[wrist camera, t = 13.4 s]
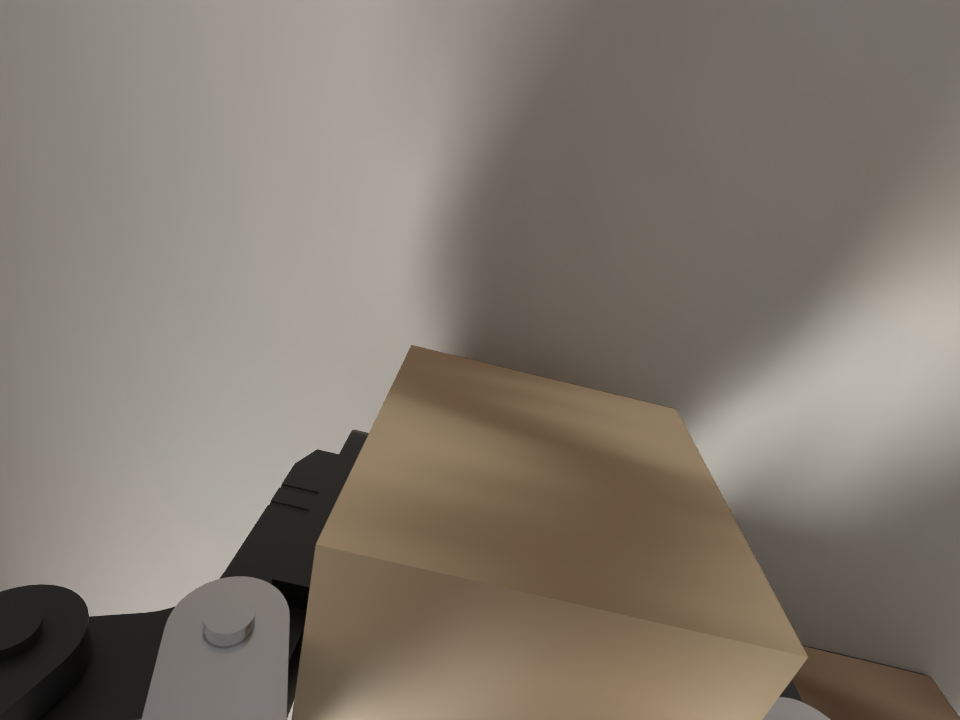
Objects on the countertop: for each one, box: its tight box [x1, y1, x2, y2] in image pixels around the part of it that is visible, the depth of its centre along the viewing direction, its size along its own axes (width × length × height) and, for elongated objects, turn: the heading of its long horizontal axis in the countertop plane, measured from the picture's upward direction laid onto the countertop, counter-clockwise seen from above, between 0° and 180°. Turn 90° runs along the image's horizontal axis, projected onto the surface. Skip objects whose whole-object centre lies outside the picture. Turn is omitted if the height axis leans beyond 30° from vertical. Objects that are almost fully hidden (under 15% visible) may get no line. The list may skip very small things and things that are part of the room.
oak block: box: [292, 345, 808, 720], centre depth 9 cm, size 5×5×5 cm
